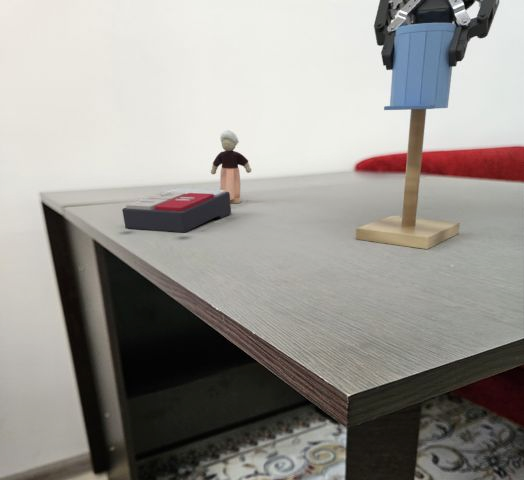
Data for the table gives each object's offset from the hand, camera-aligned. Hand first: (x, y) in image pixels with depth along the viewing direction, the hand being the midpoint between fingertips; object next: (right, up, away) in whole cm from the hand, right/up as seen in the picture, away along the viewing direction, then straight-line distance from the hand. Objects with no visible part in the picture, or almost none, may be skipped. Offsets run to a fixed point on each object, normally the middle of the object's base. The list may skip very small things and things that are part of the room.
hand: (419, 62), depth 60 cm
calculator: (-31, -12, +24) cm, 42 cm away
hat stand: (+1, -18, +10) cm, 21 cm away
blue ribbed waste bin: (0, -4, +2) cm, 5 cm away
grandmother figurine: (-24, -5, +40) cm, 47 cm away
